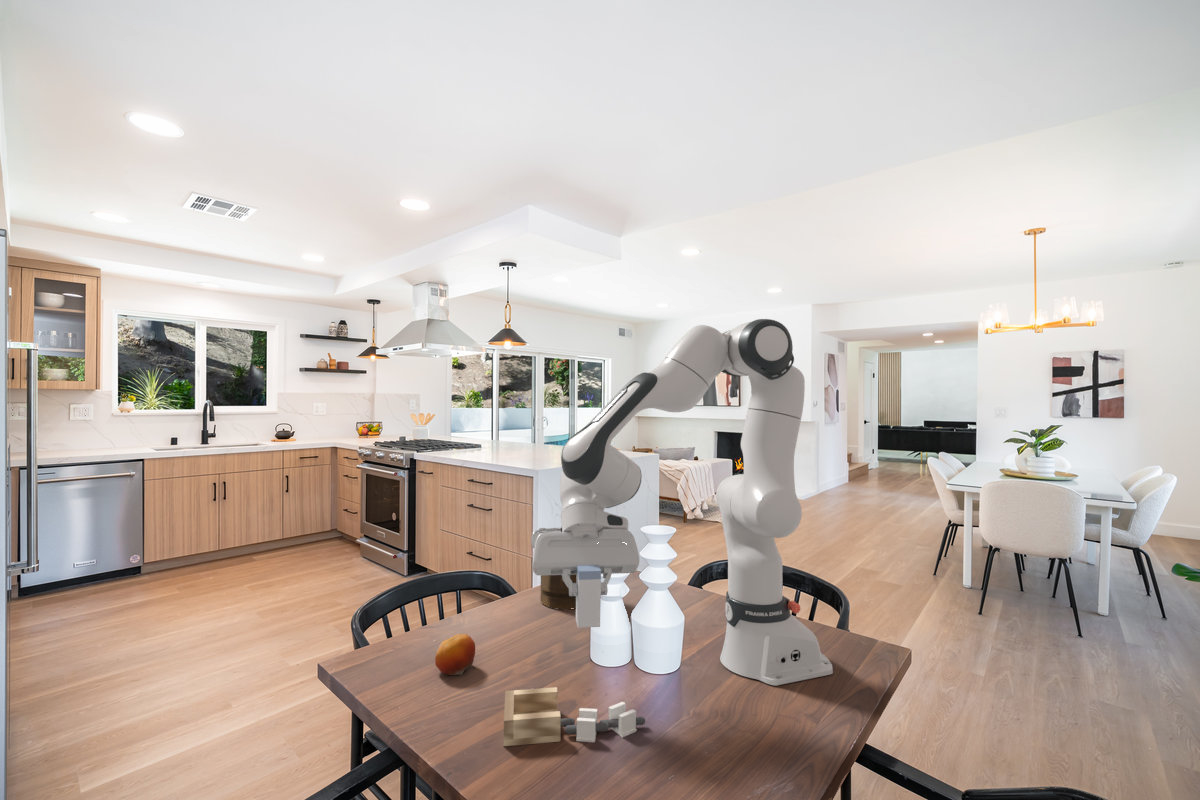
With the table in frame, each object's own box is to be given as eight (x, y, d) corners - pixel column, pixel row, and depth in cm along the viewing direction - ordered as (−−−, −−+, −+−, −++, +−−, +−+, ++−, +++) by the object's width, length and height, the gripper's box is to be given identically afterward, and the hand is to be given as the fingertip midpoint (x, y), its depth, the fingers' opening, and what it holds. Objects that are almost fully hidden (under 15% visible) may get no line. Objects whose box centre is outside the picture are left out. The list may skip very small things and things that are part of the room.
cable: (642, 717, 92) (642, 710, 92) (647, 728, 89) (647, 721, 89) (548, 725, 90) (548, 718, 90) (549, 737, 86) (549, 729, 86)
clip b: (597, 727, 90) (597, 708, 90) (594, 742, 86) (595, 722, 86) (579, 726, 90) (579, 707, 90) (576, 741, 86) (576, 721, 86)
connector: (596, 618, 100) (598, 564, 100) (600, 626, 96) (601, 570, 96) (575, 618, 99) (576, 564, 99) (577, 627, 95) (578, 571, 95)
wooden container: (599, 607, 143) (599, 525, 143) (544, 612, 140) (544, 528, 140) (587, 589, 158) (588, 514, 158) (537, 593, 154) (538, 516, 154)
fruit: (469, 676, 104) (451, 638, 105) (439, 691, 106) (422, 653, 107) (491, 658, 111) (474, 622, 113) (463, 672, 113) (446, 637, 115)
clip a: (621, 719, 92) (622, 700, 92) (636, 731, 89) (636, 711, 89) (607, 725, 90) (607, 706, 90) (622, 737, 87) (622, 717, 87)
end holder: (556, 709, 95) (556, 687, 95) (560, 741, 86) (560, 716, 86) (505, 713, 94) (505, 690, 94) (503, 746, 85) (503, 720, 85)
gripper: (531, 519, 103) (531, 587, 93) (635, 518, 106) (645, 584, 96) (530, 537, 107) (530, 604, 97) (630, 535, 110) (639, 600, 100)
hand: (588, 594), depth 97 cm, fingers closed on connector, 4 cm apart
